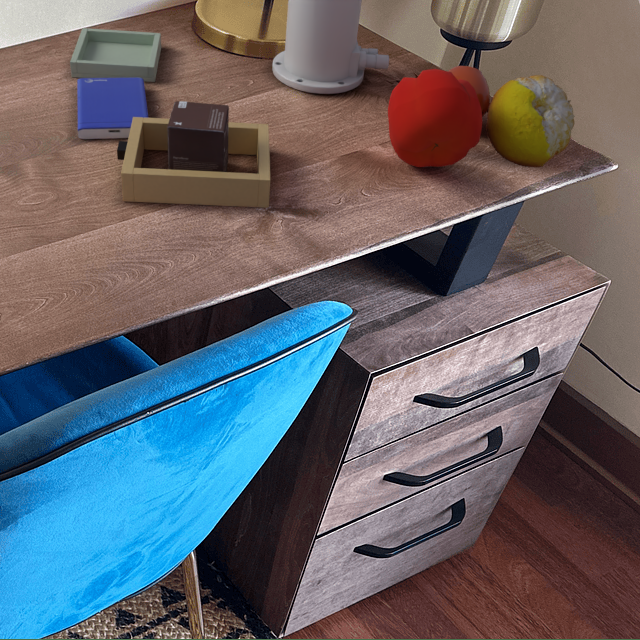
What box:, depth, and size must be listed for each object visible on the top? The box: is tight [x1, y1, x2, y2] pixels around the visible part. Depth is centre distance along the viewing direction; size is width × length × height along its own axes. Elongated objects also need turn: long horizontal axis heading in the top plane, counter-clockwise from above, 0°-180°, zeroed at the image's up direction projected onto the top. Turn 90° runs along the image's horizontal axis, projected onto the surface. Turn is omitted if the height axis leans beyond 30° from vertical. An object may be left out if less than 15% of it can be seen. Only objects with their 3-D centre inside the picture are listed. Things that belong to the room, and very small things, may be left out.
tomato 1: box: [387, 68, 483, 168], centre depth 95 cm, size 11×12×9 cm
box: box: [167, 100, 230, 172], centre depth 90 cm, size 6×6×7 cm
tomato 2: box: [447, 65, 491, 118], centre depth 106 cm, size 7×7×8 cm
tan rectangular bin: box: [116, 117, 271, 209], centre depth 92 cm, size 16×12×4 cm
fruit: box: [485, 74, 576, 168], centre depth 99 cm, size 11×10×8 cm
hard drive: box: [76, 78, 149, 140], centre depth 101 cm, size 2×8×12 cm
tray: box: [69, 27, 162, 83], centre depth 111 cm, size 11×11×2 cm
